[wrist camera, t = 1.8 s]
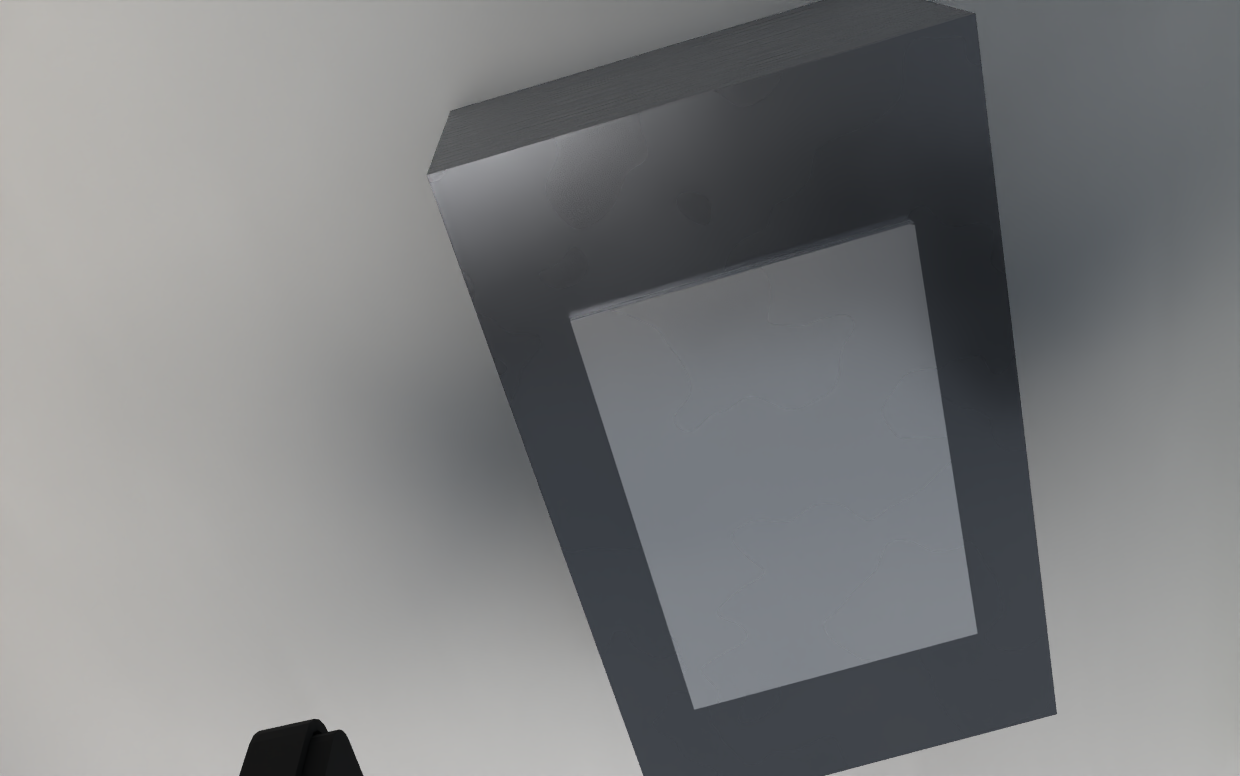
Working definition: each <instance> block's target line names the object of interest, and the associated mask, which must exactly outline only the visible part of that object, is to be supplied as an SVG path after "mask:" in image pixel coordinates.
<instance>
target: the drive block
mask: <svg viewBox="0 0 1240 776" xmlns="http://www.w3.org/2000/svg"><path fill="white" fill-rule="evenodd" d="M427 177H428V180H429V183H430V186H431V188H432V191H433V194H434V197H435V199H436V202H437V205H438V208H439V210H440V213H441V216H442V219H443V222H444V224H445V227H446V230H447V233H448V235H449V238H450V241H451V244H452V247H453V249H454V252H455V255H456V258H457V260H458V263H459V266H460V269H461V271H462V274H463V277H464V280H465V283H466V285H467V288H468V291H469V294H470V296H471V299H472V302H473V305H474V307H475V310H476V313H477V316H478V319H479V321H480V324H481V327H482V330H483V332H484V335H485V338H486V341H487V344H488V346H489V349H490V352H491V355H492V357H493V360H494V363H495V366H496V368H497V371H498V374H499V377H500V380H501V382H502V385H503V388H504V391H505V393H506V396H507V399H508V402H509V404H510V407H511V410H512V413H513V416H514V418H515V421H516V424H517V427H518V429H519V432H520V435H521V438H522V440H523V443H524V446H525V449H526V452H527V454H528V457H529V460H530V463H531V465H532V468H533V471H534V474H535V477H536V479H537V482H538V485H539V488H540V490H541V493H542V496H543V499H544V501H545V504H546V507H547V510H548V513H549V515H550V518H551V521H552V524H553V526H554V529H555V532H556V535H557V537H558V540H559V543H560V546H561V549H562V551H563V554H564V557H565V560H566V562H567V565H568V568H569V571H570V573H571V576H572V579H573V582H574V585H575V587H576V590H577V593H578V596H579V598H580V601H581V604H582V607H583V610H584V612H585V615H586V618H587V621H588V623H589V626H590V629H591V632H592V634H593V637H594V640H595V643H596V646H597V648H598V651H599V654H600V657H601V659H602V662H603V665H604V668H605V670H606V673H607V676H608V679H609V682H610V684H611V687H612V690H613V693H614V695H615V698H616V701H617V704H618V706H619V709H620V712H621V715H622V718H623V720H624V723H625V726H626V729H627V731H628V734H629V737H630V740H631V743H632V745H633V748H634V751H635V754H636V756H637V759H638V762H639V765H640V767H641V770H642V773H643V776H825V775H829V774H832V773H836V772H840V771H844V770H847V769H851V768H855V767H859V766H863V765H866V764H870V763H874V762H878V761H881V760H885V759H889V758H893V757H897V756H900V755H904V754H908V753H912V752H915V751H919V750H923V749H927V748H931V747H934V746H938V745H942V744H946V743H949V742H953V741H957V740H961V739H965V738H968V737H972V736H976V735H980V734H983V733H987V732H991V731H995V730H999V729H1002V728H1006V727H1010V726H1014V725H1017V724H1021V723H1025V722H1029V721H1033V720H1036V719H1040V718H1044V717H1048V716H1052V715H1055V714H1057V711H1056V702H1055V694H1054V685H1053V677H1052V668H1051V659H1050V651H1049V642H1048V634H1047V625H1046V616H1045V608H1044V599H1043V591H1042V582H1041V573H1040V565H1039V556H1038V548H1037V539H1036V530H1035V522H1034V513H1033V505H1032V496H1031V487H1030V479H1029V470H1028V462H1027V453H1026V444H1025V436H1024V427H1023V419H1022V410H1021V401H1020V393H1019V384H1018V376H1017V367H1016V358H1015V350H1014V341H1013V333H1012V324H1011V315H1010V307H1009V298H1008V290H1007V281H1006V272H1005V264H1004V255H1003V247H1002V238H1001V229H1000V221H999V212H998V204H997V195H996V186H995V178H994V169H993V161H992V152H991V143H990V135H989V126H988V118H987V109H986V100H985V92H984V83H983V75H982V66H981V57H980V49H979V40H978V32H977V23H976V14H975V13H972V12H968V11H964V10H960V9H956V8H952V7H948V6H945V5H941V4H937V3H933V2H929V1H925V0H822V1H819V2H815V3H812V4H809V5H805V6H802V7H799V8H795V9H792V10H789V11H785V12H782V13H778V14H775V15H772V16H768V17H765V18H762V19H758V20H755V21H752V22H748V23H745V24H741V25H738V26H735V27H731V28H728V29H725V30H721V31H718V32H715V33H711V34H708V35H704V36H701V37H698V38H694V39H691V40H688V41H684V42H681V43H678V44H674V45H671V46H667V47H664V48H661V49H657V50H654V51H651V52H647V53H644V54H641V55H637V56H634V57H630V58H627V59H624V60H620V61H617V62H614V63H610V64H607V65H604V66H600V67H597V68H594V69H590V70H587V71H583V72H580V73H577V74H573V75H570V76H567V77H563V78H560V79H557V80H553V81H550V82H546V83H543V84H540V85H536V86H533V87H530V88H526V89H523V90H520V91H516V92H513V93H509V94H506V95H503V96H499V97H496V98H493V99H489V100H486V101H483V102H479V103H476V104H472V105H469V106H466V107H462V108H459V109H456V110H452V111H450V113H449V116H448V119H447V122H446V124H445V127H444V130H443V132H442V135H441V138H440V141H439V143H438V146H437V149H436V151H435V154H434V157H433V160H432V162H431V165H430V168H429V171H428V173H427Z"/></svg>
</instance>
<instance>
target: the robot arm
mask: <svg viewBox="0 0 1240 776" xmlns="http://www.w3.org/2000/svg"><path fill="white" fill-rule="evenodd" d="M239 776H363V774H362V771H361V769H360V766H359V764H358V761H357V759H356V757H355V754H354V752H353V749H352V747H351V744H350V742H349V739H348V737H347V736H346V734H345V733H344V732H343V731H342V730H335V731H331V732H328V731H327V729H326V727H325V725H324V724H323V723H322V722H321V721H320V720H319V719H312V720H307V721H302V722H298V723H293V724H289V725H284V726H280V727H275V728H271V729H266V730H261V731H258V732H257V733H256V734H255V735H254V736H253V738H252V740H251V742H250V744H249V747H248V750H247V753H246V756H245V759H244V763H243V766H242V769H241V772H240V775H239Z"/></svg>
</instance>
